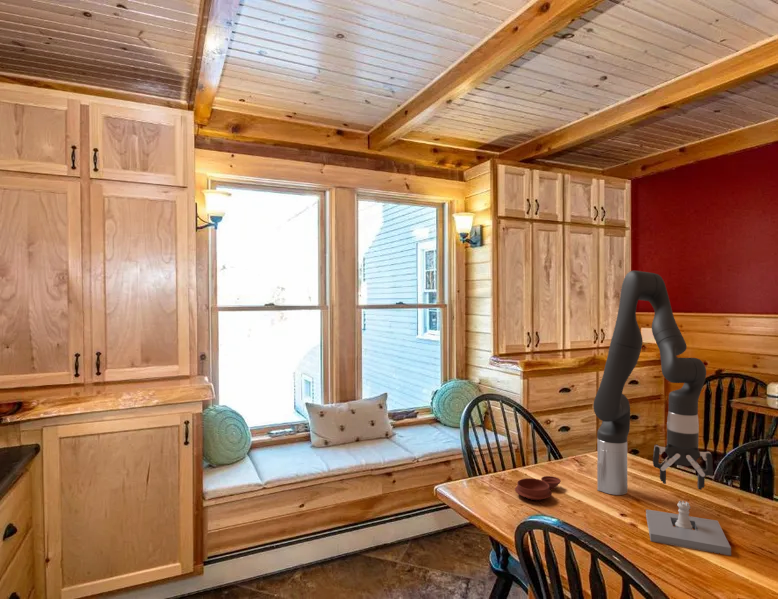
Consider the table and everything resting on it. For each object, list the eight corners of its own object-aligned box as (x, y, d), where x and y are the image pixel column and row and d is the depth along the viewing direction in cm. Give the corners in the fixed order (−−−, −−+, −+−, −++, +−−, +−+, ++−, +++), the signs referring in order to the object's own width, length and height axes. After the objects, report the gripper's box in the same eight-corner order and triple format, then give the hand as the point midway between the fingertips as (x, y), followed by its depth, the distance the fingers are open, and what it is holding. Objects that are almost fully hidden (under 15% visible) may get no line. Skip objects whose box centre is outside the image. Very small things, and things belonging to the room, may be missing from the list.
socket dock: (650, 541, 128) (650, 533, 128) (646, 515, 143) (646, 509, 143) (731, 555, 121) (731, 547, 121) (717, 527, 135) (717, 520, 135)
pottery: (507, 496, 157) (507, 483, 157) (540, 481, 171) (540, 468, 170) (539, 508, 149) (539, 494, 149) (571, 491, 162) (571, 478, 162)
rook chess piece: (670, 527, 136) (671, 499, 135) (685, 526, 136) (685, 498, 136) (682, 535, 131) (682, 506, 131) (697, 534, 132) (697, 505, 131)
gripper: (654, 428, 133) (653, 486, 133) (715, 435, 127) (714, 495, 127) (652, 422, 140) (651, 476, 140) (710, 428, 133) (709, 485, 134)
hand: (681, 485), depth 133 cm, fingers open, 8 cm apart
